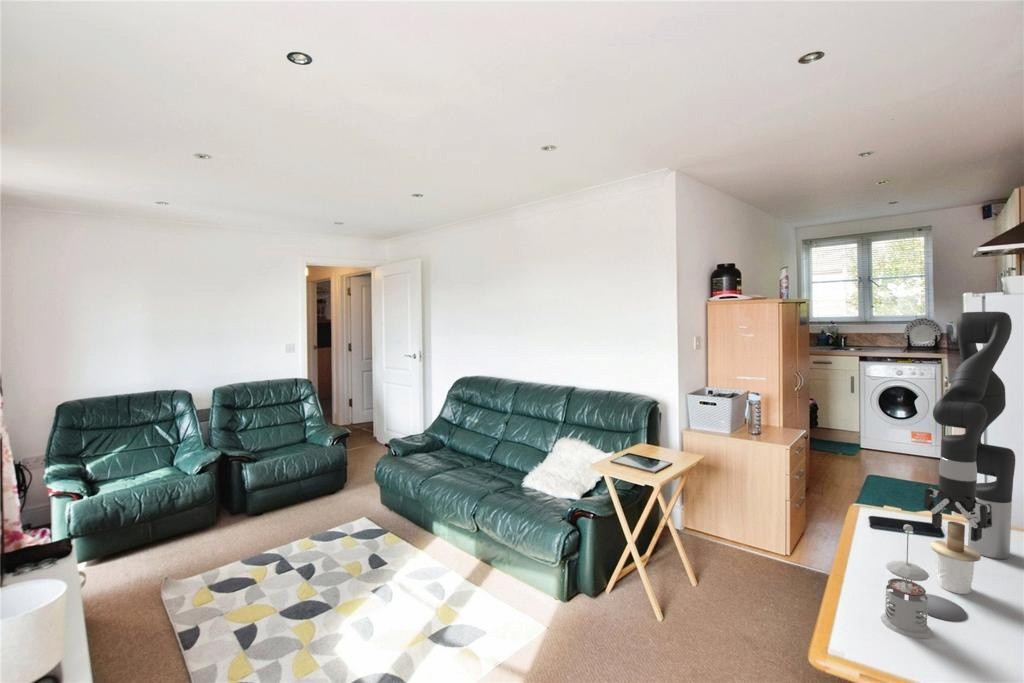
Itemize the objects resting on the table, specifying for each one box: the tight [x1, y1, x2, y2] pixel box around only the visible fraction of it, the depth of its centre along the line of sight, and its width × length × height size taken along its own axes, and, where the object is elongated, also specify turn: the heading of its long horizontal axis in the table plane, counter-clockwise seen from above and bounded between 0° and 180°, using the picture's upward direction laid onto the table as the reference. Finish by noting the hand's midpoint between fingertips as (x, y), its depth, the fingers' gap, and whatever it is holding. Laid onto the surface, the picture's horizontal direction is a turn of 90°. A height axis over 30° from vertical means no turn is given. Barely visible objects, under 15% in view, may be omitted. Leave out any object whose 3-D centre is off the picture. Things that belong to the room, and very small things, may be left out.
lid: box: [930, 520, 982, 563], centre depth 133 cm, size 10×10×8 cm
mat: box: [921, 593, 967, 622], centre depth 126 cm, size 11×11×1 cm
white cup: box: [935, 552, 975, 595], centre depth 134 cm, size 8×8×10 cm
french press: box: [879, 523, 933, 639], centre depth 119 cm, size 10×12×25 cm
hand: (955, 533), depth 133 cm, fingers open, 8 cm apart
